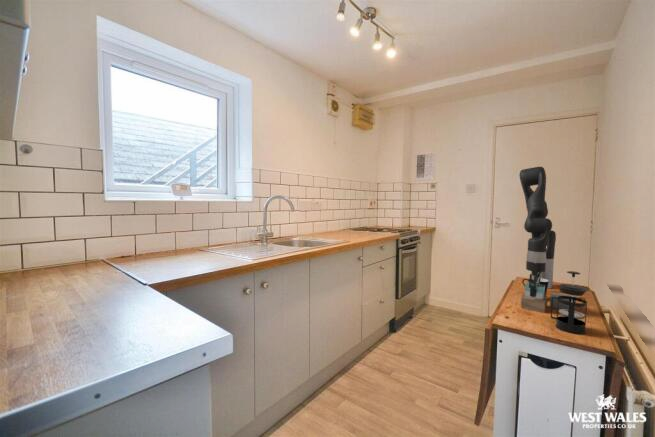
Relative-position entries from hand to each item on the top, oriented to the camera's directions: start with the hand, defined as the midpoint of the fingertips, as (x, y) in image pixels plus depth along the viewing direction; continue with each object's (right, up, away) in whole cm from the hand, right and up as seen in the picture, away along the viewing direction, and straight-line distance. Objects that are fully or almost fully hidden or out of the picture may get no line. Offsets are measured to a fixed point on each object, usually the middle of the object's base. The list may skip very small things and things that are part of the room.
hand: (534, 294), depth 141 cm
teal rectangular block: (0, -1, 0) cm, 1 cm away
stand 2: (+14, -6, +1) cm, 16 cm away
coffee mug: (+11, -6, +15) cm, 19 cm away
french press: (-2, -8, -22) cm, 24 cm away
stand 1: (0, -6, 0) cm, 6 cm away
